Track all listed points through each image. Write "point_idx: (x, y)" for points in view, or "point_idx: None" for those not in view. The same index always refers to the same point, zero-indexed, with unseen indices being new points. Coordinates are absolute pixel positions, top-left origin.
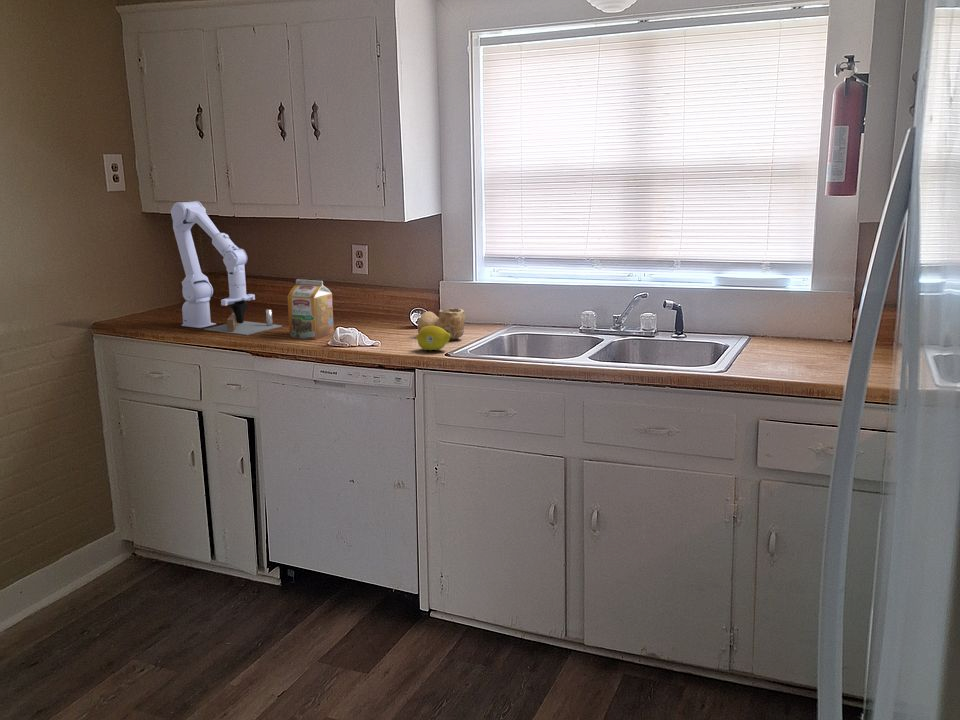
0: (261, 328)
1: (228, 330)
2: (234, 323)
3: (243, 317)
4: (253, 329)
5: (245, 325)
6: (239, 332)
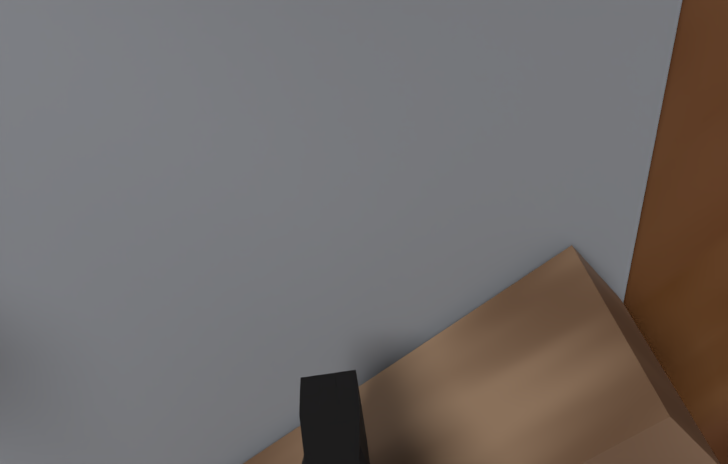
0: (12, 77)
1: (616, 299)
2: (476, 404)
3: (307, 462)
4: (209, 126)
5: (108, 446)
6: (586, 106)
